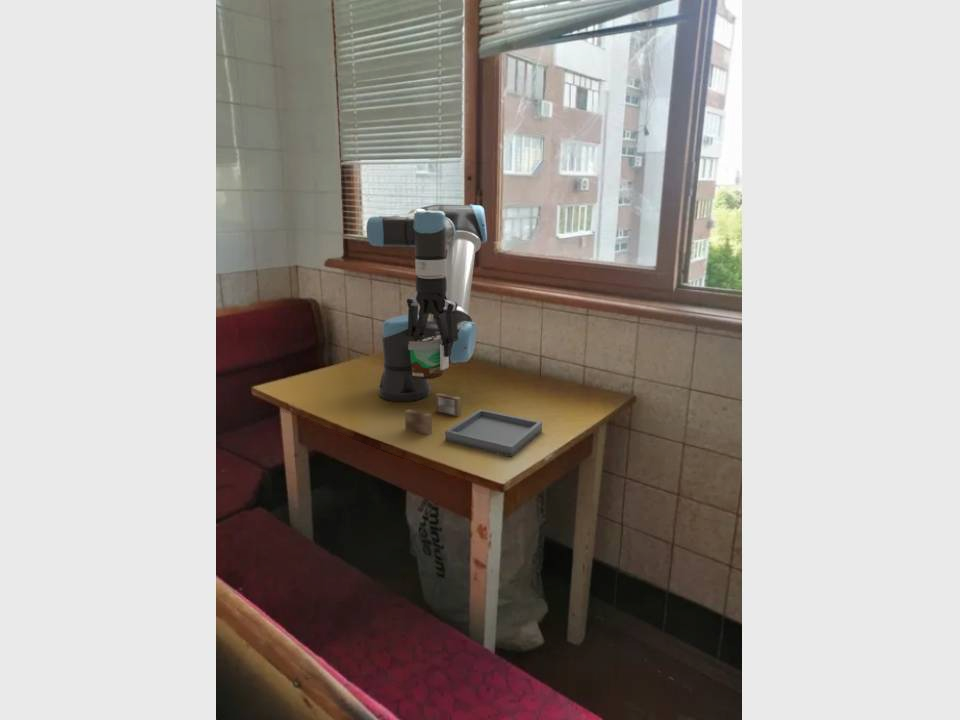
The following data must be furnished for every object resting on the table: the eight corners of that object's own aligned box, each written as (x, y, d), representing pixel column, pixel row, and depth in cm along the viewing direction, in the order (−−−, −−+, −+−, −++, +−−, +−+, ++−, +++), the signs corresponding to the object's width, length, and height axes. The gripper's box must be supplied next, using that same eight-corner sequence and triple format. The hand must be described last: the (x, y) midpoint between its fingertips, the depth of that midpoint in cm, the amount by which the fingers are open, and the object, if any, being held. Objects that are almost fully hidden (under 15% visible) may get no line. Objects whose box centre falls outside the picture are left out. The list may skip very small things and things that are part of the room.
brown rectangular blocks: (405, 429, 149) (404, 411, 148) (439, 410, 162) (439, 392, 161) (428, 435, 146) (427, 416, 145) (461, 414, 159) (461, 397, 158)
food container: (428, 384, 144) (427, 345, 141) (409, 379, 147) (407, 341, 144) (456, 370, 154) (456, 334, 151) (437, 367, 157) (437, 330, 154)
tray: (445, 440, 143) (445, 431, 142) (480, 417, 157) (480, 409, 156) (511, 457, 134) (511, 447, 134) (541, 431, 148) (542, 422, 148)
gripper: (390, 275, 145) (394, 364, 152) (456, 281, 136) (457, 376, 142) (408, 271, 151) (411, 357, 158) (472, 277, 142) (473, 368, 149)
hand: (433, 366), depth 150 cm, fingers closed on food container, 6 cm apart
